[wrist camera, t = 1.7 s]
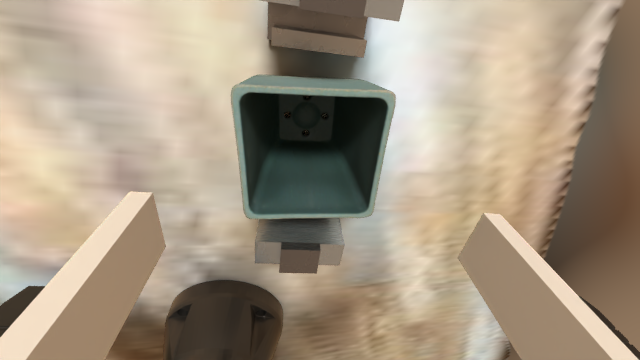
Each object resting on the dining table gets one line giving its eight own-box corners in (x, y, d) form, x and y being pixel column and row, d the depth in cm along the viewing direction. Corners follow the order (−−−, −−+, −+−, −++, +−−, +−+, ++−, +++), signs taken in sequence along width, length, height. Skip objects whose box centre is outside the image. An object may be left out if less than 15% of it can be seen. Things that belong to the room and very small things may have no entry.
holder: (327, 217, 30) (338, 283, 23) (263, 213, 29) (253, 281, 22) (377, -48, 18) (431, -83, 11) (271, -68, 17) (254, -120, 10)
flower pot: (363, 61, 22) (399, 91, 14) (350, 158, 27) (372, 219, 19) (252, 56, 21) (228, 84, 14) (259, 157, 26) (244, 220, 18)
